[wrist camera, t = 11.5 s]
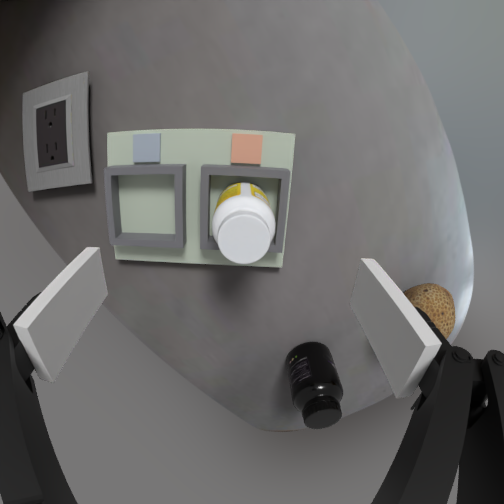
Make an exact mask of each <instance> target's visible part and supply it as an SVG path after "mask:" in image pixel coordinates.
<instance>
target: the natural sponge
mask: <svg viewBox="0 0 504 504" xmlns="http://www.w3.org/2000/svg"><path fill="white" fill-rule="evenodd" d="M403 294H404V295H405V296H406V298H407V299H408V300H409V301H410V303H411V304H412V305H413V306H414V307H418V308H420V309H421V310H422V311H424V312H425V313H426V314H427V315H428V316H429V318H430V319H431V320H432V322H433V323H434V324H435V325H436V328H438V329H439V330H440V332H441V333H442V334H443V336H444V337H445V338H446V339H447V338H448V336H449V335H450V333H451V332H452V330H453V328H454V324H455V307H454V301H453V298H452V295H451V294H450V292H449V291H447V290H446V289H445V288H443V287H441V286H439V285H437V284H430V283H427V284H422V285H418V286H415V287H412V288H410V289H408V290H406V291H405V292H404V293H403Z"/></svg>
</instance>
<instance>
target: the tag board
mask: <svg viewBox="0 0 504 504" xmlns="http://www.w3.org/2000/svg"><path fill="white" fill-rule="evenodd" d="M294 144H295V134H290V133H279V132H267V131H253V130H233V129H157V130H138V131H124V132H112V133H107V155H108V167H106V168H104V184H105V199H106V212H107V222H108V231H109V240H110V245H114V250H115V257H116V259H122V260H139V261H157V262H175V263H195V264H215V265H237V266H260V267H282V262H283V254H284V245H285V236H286V227H287V217H288V208H289V198H290V188H291V177H292V167H293V155H294ZM240 181H246V182H251V183H254V184H256V185H257V186H259V187H260V188H261V189H262V190H263V191H264V193H265V194H266V196H267V198H268V201H269V203H270V206H271V209H272V212H273V214H274V218H275V234H274V237H273V239H272V241H271V243H270V246H269V249H268V251H267V252H266V254H265V255H264V256H263V257H262V258H261V259H259V260H258V261H256V262H253V263H250V264H238V263H235V262H232V261H230V260H229V259H227V258H226V257H225V256H224V255H223V254H222V253H221V251H220V249H219V247H218V244H217V243H216V241H215V239H214V236H213V233H212V219H213V215H214V212H215V209H216V205H217V201H218V198H219V196H220V194H221V193H222V191H223V190H224V189H225V188H226V187H227V186H229V185H230V184H233V183H235V182H240Z"/></svg>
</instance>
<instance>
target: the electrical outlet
mask: <svg viewBox="0 0 504 504" xmlns="http://www.w3.org/2000/svg"><path fill="white" fill-rule="evenodd" d="M88 92H89V71H87V72H83V73H80V74H76V75H73V76H70V77H67V78H63V79H60V80H57V81H54V82H52V83H49V84H46V85H43V86H40V87H38V88H35V89H33V90H30V91H28V92H25V93H23V110H22V117H23V146H24V159H25V170H26V179H27V186H28V192H31V191H37V190H44V189H51V188H58V187H65V186H73V185H81V184H90V183H92V173H91V161H90V146H89V120H88Z"/></svg>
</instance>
